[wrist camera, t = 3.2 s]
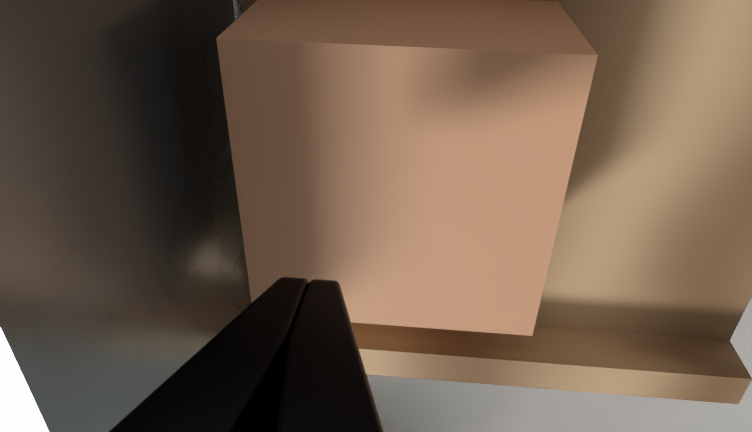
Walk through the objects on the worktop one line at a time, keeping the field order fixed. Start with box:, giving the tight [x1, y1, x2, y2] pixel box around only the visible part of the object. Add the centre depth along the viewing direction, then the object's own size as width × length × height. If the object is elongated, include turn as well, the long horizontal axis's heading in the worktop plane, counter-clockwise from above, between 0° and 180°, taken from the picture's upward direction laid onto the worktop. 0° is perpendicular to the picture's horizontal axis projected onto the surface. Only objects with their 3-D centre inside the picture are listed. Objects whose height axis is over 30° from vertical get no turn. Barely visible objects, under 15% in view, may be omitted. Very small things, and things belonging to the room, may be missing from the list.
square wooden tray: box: [242, 0, 752, 404], centre depth 14 cm, size 14×14×3 cm
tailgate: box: [0, 0, 251, 432], centre depth 11 cm, size 10×11×1 cm
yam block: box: [216, 0, 598, 336], centre depth 12 cm, size 6×6×4 cm
